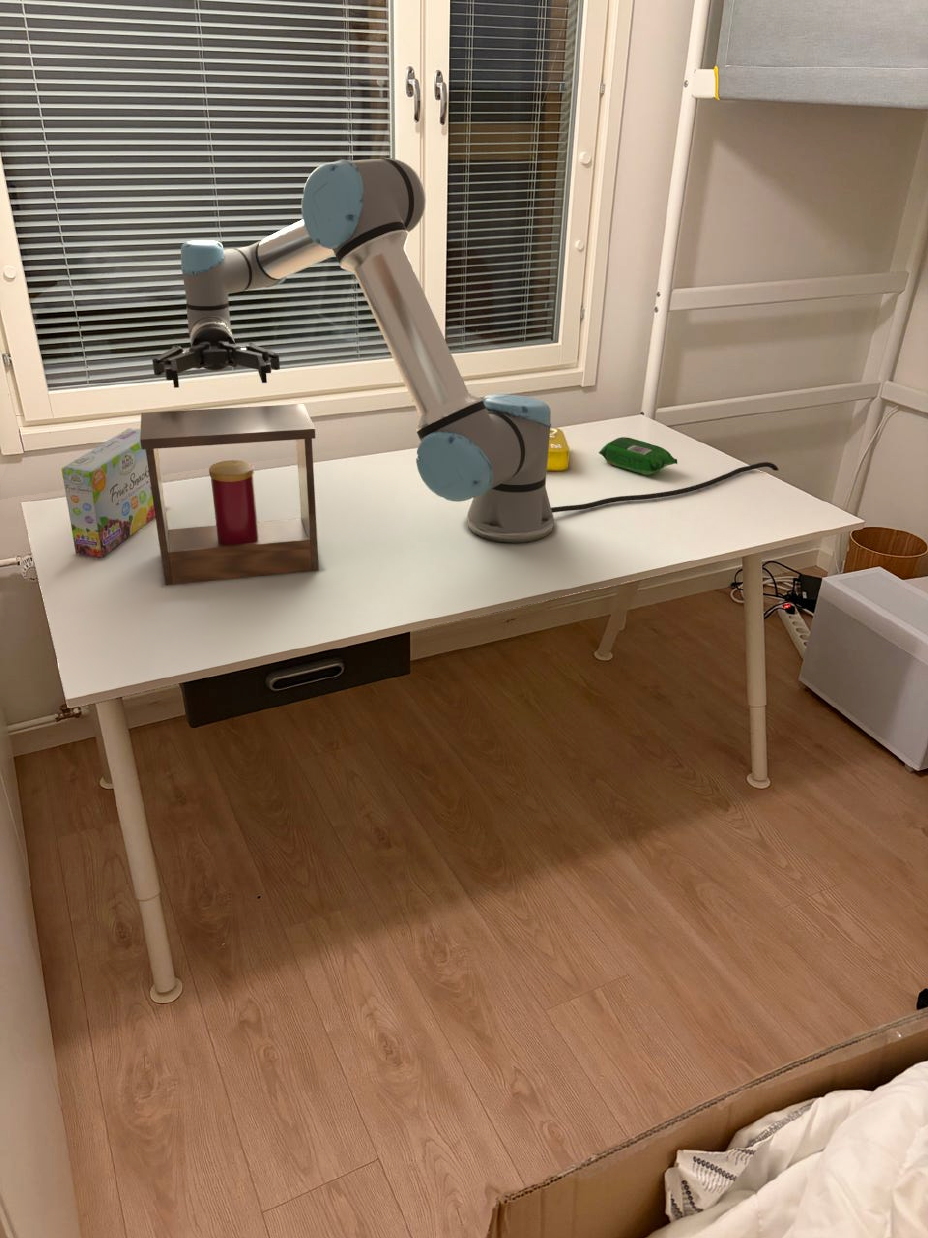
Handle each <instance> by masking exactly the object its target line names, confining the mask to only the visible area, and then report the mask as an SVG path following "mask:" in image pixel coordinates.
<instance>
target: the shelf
mask: <svg viewBox="0 0 928 1238" xmlns="http://www.w3.org/2000/svg"><path fill="white" fill-rule="evenodd" d="M140 429H141V432H140V442H141V449H142V450H143V449H145V450H146V457H147V463H148V470H149V477H150V484H151V491H152V498H153V504H154V511H155V517H154V518H155V525H156V530H157V539H158V542H159V543H158V546H159V552H160V558H161V565H162V571H163V579H164V585H165V586H170V585H171V586H172V585H181V584H191V583H200V582H212V581H220V580H230V579H231V580H233V579H241V578H250V577H251V578H252V577H262V576H263V577H264V576H270V575H281V574H282V575H283V574H291V573H292V574H293V573H301V572H312V571H320V564H319V563H320V562H319V547H318V529H317V528H318V526H317V509H316V508H317V506H316V488H315V470H314V454H313V453H314V452H313V440H315V439H316V429H315V426H314V423H313V421H312V419H311V417H310V415H309V413H308V411H307V408H306V406H305V403H297V404H296V403H295V404H278V405H259V406H257V405H256V406H241V407H224V408H221V407H220V408H205V409H204V408H203V409H186V410H170V411H149V412H141V413H140ZM282 441H295V444H296V459H297V475H298V476H297V477H298V491H299V492H298V493H299V507H300V509H299V510H300V518H290V519H279V520H278V519H277V520H265V521H264V520H263V521H257V525H258V536H259V538H258V540H257V541H256V542H255V543H245V544H234V545H222V544H220V543H219V542H218V537H217V529H216V525H206V526H196V527H182V528H171V529H169V523H168V517H167V510H166V509H167V508H166V501H165V495H164V488H163V481H162V473H160V472H161V465H160V466H159V463H160V458H159V459H158V455H159V451H158V452H157V449H158V450H159V449H173V448H188V447H189V448H190V447H203V446H204V447H206V446H219V445H220V446H221V445H233V444H237V445H238V444H250V443H251V444H252V443H265V442H266V443H268V442H282Z"/></svg>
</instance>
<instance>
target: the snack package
mask: <svg viewBox="0 0 928 1238" xmlns="http://www.w3.org/2000/svg"><path fill="white" fill-rule="evenodd" d="M598 454H600V455H601V456H602V457H603V458H604V460H605V461H606V462H607V463H608V465H609V464H610V465H612V466H615V467H618V468H622V469H625V470H628V471H631V472H634V473H638V474H642V475H645V476H651V475H653V474H655V473H657V472H659V471H660V470H662V469H664V468H666V467H667V466H671V465H678V458H674V457H673V456H672V454H671V453H670V452H669V451H668V450H667V449H665V448H664V447H662V446H659V445H656V444H652V443H650V442H647V441H644V440H643V441H642V440H639V439H635V438H633V437H632V438H631V437H626V436H621V437H618V438H615V439H613V440H611V441H610V442H608V443H606V444H605V445H604V446H603V447H602V448H601V450H599V452H598Z"/></svg>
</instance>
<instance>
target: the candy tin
mask: <svg viewBox="0 0 928 1238" xmlns="http://www.w3.org/2000/svg"><path fill="white" fill-rule="evenodd" d="M208 473H209V474H208V475H209V478H210V483H211V484H210V485H211V493H212V501H213V510H214V519H215V526H216V529H217V537H218V542H219V543H220V544H222V545H234V544H245V543H255V542H256V541H257V540H258V538H259V536H258V525H257V522H258V515H257V514H258V513H257V504H256V493H255V483H254V474H255V470H254V465H253V464H252V463H250V462H248V461H244V460H238V459H237V460H222V461H218V462H215V463H214V464H211V465H210V466H209V468H208Z"/></svg>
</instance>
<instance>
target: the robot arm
mask: <svg viewBox="0 0 928 1238" xmlns="http://www.w3.org/2000/svg"><path fill="white" fill-rule="evenodd" d="M426 202H427V198H426V190H425V186H424V183H423V181H422V179H421V177H420V176H419V174H418V173H417V171H415V169H413V168H412V166H410V165H409V164H407V163H406V162H404V161H402V160H400V159H396V158H392V157H380V158H370V159H355V160H349V159H338V160H335V161H333V162H326V163H323V164H320V165H318V167H316V168H315V169H314V170H313V171H312V172H311V173H310V175H309V176H308V178H307V179H306V182H305V184H304V186H303V196H302V198H301V217H302V219H301V220H299V221H297V222H294V223H293V224H291V225H289V226H287V227H285V228H283V229H281V230H278V231H277V232H275V233H273V234H271V235H268V236H267V237H265V238H263V239H261V240H259V241H257V242H255V243H253V244H250V245H247V246H243V247H238V248H237V247H236V248H229V249H224V246H223V244H222V243H221V242H219V241H217V240H210V239H200V240H199V239H198V240H195V239H194V240H188V241H185V242H184V243H182V245H181V247H180V270H181V273H182V279H183V287H184V293H185V301H186V315H187V328H188V336H189V339H190V340H189V341H190V346H191V347H189V349H186V350H185V349H183V347H181V346H180V345H178V344H177V345H176V344H175V345H173V346H172V347H171V348H170V349H169V350H167V351H165V352H162V354H159V355H158V356H156V357H154V358H152V359H151V361H152V368H153V375H154V376H161V375H164V376H165V377H164V378H165V380H166V381H172V383H173V388H174V389H176V388H179V389H180V386H179V385H180V383H179V374H180V373H183V372H186V371H188V370H191V369H197V370H200V369H205V370H207V371H211V372H219V371H223V370H225V369H227V368H229V367H232V368H238V367H244V368H249V369H253V370H257V371H258V375H259V378H260V381H261V383H262V384H267V383H268V380H267V379H268V378H267V374H271V373H272V370H275V371H278V370H280V369H281V363H280V362H281V361H280V354H279V353H277V352H275V351H272V350H269V349H266V348H264V347H261V346H258V345H256V343H255V342H248V343H247V344H246V345H245V347H240V345H237V344H236V342H235V339H234V335H233V332H232V325H231V316H230V303H229V295H231V294H236V293H241V292H245V291H249V290H250V291H251V290H256V289H261V288H271V287H274V286H277V285H280V284H282V283H284V282H285V281H286V279H287V278H288V277H289V276H291V275H294V274H295V273H297V272H300V271H302V270H305V269H307V268H309V267H311V266H314V265H317V264H319V263H321V262H323V261H325V260H328V259H329V258H332V257H334V256H335V258H336V260H337V263H338V265H339V266H340V268H341V269H342V270H345V271H348V272H351V273H352V274H354V276H355V278H356V280H357V282H358V284H359V287H360V289H361V291H362V293H363V296H364V297H365V300H366V303H367V304H368V306H369V309H370V311H371V313H372V315H373V318H374V319H375V321H376V324H377V326H378V329H379V330H380V333H381V334H382V337H383V339H384V342H385V343H386V346H387V348H388V351H389V352H390V354H391V356H392V359H393V361H394V363H395V365H396V367H397V370H398V372H399V374H400V376H401V378H402V381H403V383H404V385H405V387H406V390H407V391H408V393H409V396H410V398H411V400H412V402H413V404H414V407H415V409H416V411H417V414H418V416H419V418H418V422H417V424H416V425H417V426H416V429H415V432H416V434H417V436H418V438H419V440H420V443H419V445H418V447H417V450H416V454H417V457H416V458H415V462H416V468H417V471H418V474H419V476H420V478H421V480H422V481H423V483H424V484H425V486H426V487H427V488H428V489H429V490H430V491H431V492H432V493H434V494H435V495H436V496H438V497H440V498H443V499H445V500H447V501H450V502H456V503H458V502H459V503H460V502H466V501H469V500H471V499H472V501H471V504H470V506H469V508H468V511H467V527H468V528H469V530H470V531H471V532H472V533H473V534H475V535H477V536H479V537H482V538H484V539H487V540H491V541H494V542H500V543H514V544H515V543H527V542H533V541H537V540H540V539H542V538H545V537H547V536H549V534H550V533H551V532H552V531H553V529H554V527H553V526H554V514H553V513H561V512H571V511H582V510H588V509H592V508H596V507H600V506H603V505H608V504H613V503H619V502H620V503H621V502H627V501H628V502H630V501H643V500H644V501H645V500H652V499H653V500H654V499H659V498H666V497H672V496H677V495H683V494H687V493H691V492H694V491H697V490H701V489H705V488H707V487H710V486H712V485H714V484H718V483H719V482H722V481H724V480H727V479H730V478H731V477H734V476H736V475H739V474H741V473H745V472H749V471H753V470H756V469H759V468H770V469H772V470H773V471H777V472H779V470H780V469H779V468H778V466H777V465H776V464H775V463H772V462H770V461H764V462H763V461H762V462H758V463H754V464H750V465H745V466H742V467H738V468H736V469H733V470H731V471H729V472H727V473H725V474H722V475H719V476H717V477H714V478H712V479H710V480H707V481H704V482H700V483H698V484H695V485H691V486H687V487H684V488H679V489H673V490H668V491H661V492H653V493H646V494H633V495H620V496H613V497H608V498H603V499H599V500H595V501H592V502H588V503H587V502H586V503H581V504H572V505H562V506H561V505H560V506H554V507H553V506H552V507H551V503H550V499H549V495H548V491H547V462H548V450H549V438H550V428H552V423H551V416H552V415H551V414H552V413H551V408H550V406H549V404H547V403H546V402H545V401H543V400H541V399H538V398H534V397H531V396H525V395H516V394H508V393H506V394H505V393H498V394H497V393H494V394H488V395H486V396H485V397H484V398H483V399H482V398H480V397H478V396H475V395H473V394H471V393H470V392H469V390H468V389H467V386H466V384H465V382H464V379H463V378H462V374H461V373H460V372H461V371H460V370H459V368H458V366H457V364H456V361H455V359H454V357H453V355H452V352H451V350H450V348H449V346H448V343H447V341H446V339H445V337H444V334H443V332H442V330H441V328H440V326H439V323H438V321H437V319H436V317H435V315H434V312H433V310H432V308H431V306H430V303H429V301H428V298H427V297H426V294H425V292H424V290H423V288H422V286H421V283H420V281H419V279H418V277H417V274H416V272H415V270H414V267H413V265H412V263H411V261H410V259H409V257H408V254H407V251H406V244H407V241H408V238H409V233H410V232H412V231H413V230H414V229H415V228H416V227H417V226H418V225H419V223H420V222H421V220H422V218H423V216H424V213H425V209H426Z"/></svg>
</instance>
